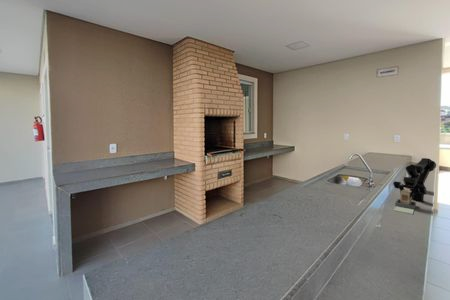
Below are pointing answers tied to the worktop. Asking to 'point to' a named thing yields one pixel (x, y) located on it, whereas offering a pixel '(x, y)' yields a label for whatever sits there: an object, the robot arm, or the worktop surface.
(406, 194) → the birch box
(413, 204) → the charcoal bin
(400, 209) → the sage mat
